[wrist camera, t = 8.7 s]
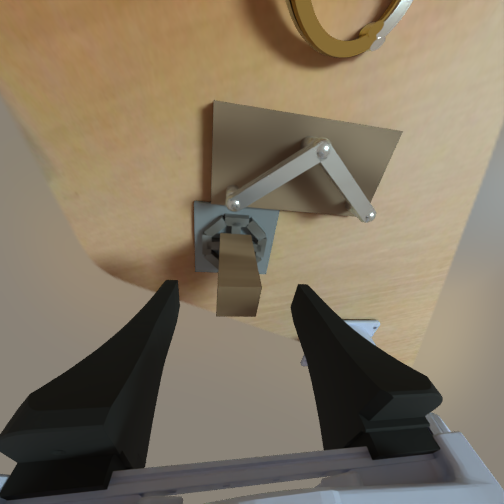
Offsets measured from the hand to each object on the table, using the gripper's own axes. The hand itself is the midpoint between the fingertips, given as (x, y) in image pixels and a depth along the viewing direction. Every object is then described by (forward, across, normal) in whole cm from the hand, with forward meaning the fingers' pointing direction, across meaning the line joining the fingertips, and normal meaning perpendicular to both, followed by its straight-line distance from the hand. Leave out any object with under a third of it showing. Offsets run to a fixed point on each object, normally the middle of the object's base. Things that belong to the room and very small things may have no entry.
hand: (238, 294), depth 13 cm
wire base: (+6, -4, -7) cm, 10 cm away
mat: (+6, 0, 0) cm, 6 cm away
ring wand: (+6, 0, 0) cm, 6 cm away
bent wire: (+6, -4, -7) cm, 10 cm away
